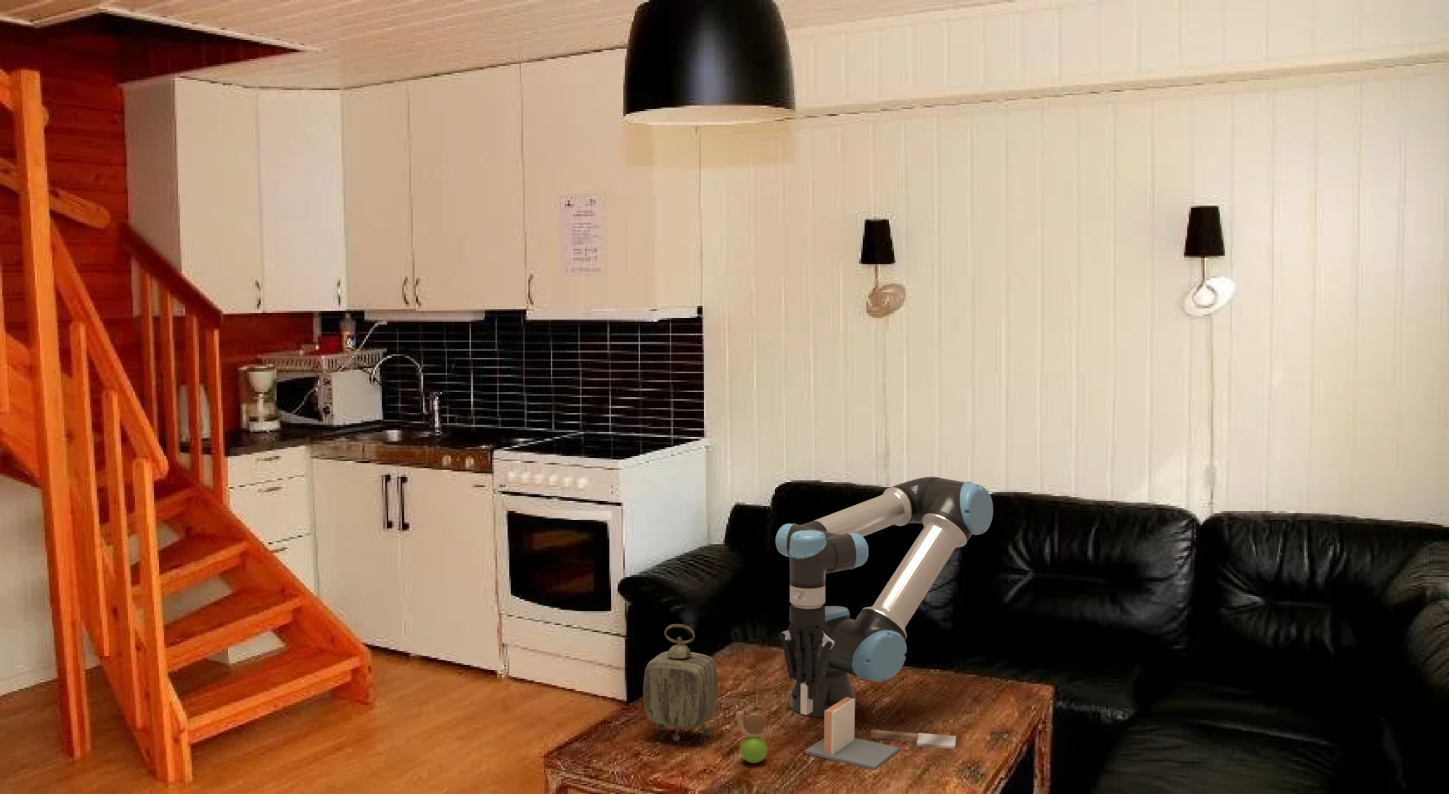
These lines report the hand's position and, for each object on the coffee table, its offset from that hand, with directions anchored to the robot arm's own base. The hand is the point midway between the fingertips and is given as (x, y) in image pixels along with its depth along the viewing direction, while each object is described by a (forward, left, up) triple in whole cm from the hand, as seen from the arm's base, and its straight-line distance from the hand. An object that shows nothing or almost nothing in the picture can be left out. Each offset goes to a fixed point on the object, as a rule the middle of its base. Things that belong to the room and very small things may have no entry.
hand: (806, 712), depth 257 cm
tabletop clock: (-24, -13, -7) cm, 28 cm away
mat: (+11, 0, -6) cm, 13 cm away
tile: (+8, 0, -6) cm, 10 cm away
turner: (+19, +13, -7) cm, 24 cm away
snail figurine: (-4, -16, -7) cm, 18 cm away
